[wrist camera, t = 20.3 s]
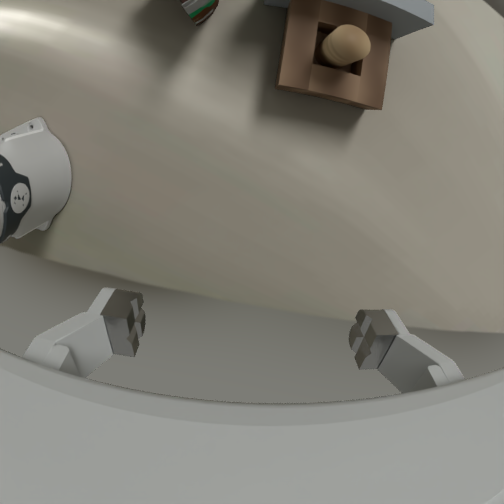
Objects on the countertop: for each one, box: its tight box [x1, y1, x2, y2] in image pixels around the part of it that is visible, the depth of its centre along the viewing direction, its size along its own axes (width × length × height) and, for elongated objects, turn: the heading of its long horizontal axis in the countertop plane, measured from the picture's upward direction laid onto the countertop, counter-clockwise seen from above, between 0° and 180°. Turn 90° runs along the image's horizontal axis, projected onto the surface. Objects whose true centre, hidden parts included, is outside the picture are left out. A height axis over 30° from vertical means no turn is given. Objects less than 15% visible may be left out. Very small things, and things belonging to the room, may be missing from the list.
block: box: [275, 0, 392, 110], centre depth 26 cm, size 12×12×5 cm
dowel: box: [315, 25, 371, 69], centre depth 24 cm, size 4×4×8 cm
